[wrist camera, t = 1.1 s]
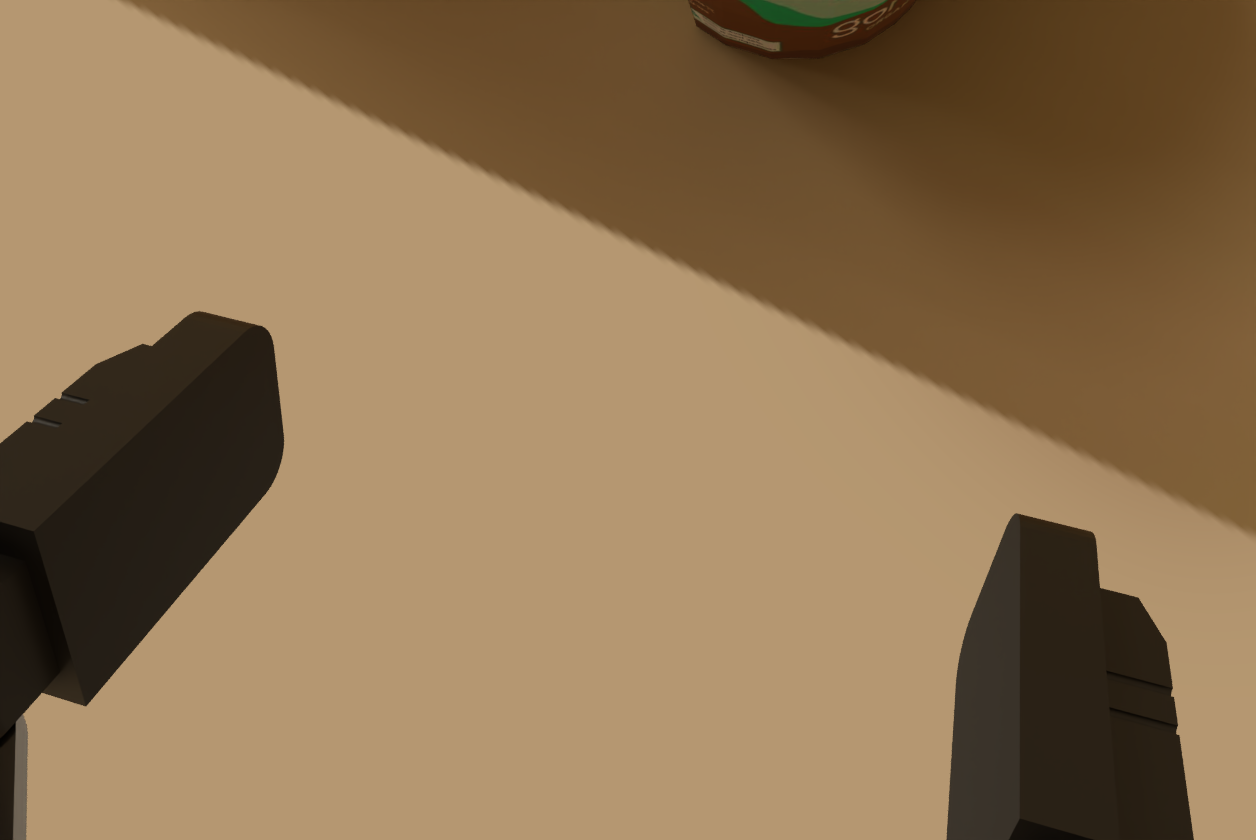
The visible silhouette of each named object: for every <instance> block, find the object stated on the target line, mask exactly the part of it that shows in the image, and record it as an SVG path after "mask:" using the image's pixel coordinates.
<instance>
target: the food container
mask: <svg viewBox="0 0 1256 840" xmlns="http://www.w3.org/2000/svg"><path fill="white" fill-rule="evenodd" d="M688 1H689V4H690V7H691V10H692V13H693V16H694V20H695V23H696V26H698V27H699V28H701V29H702V30H704V31H705V32H707V33H708V34H710V35H712V36H713V37H715V38H716V39H718V40H719V41H721V42H722V43H724V44H725V45H728V46H731V47H735V48H738V49H741V50H744V51H748V52H751V53H754V54H758V55H761V56H764V57H767V58H771V59H806V58H822V57H825V56H828V55H831V54H835V53H838V52H841V51H844V50H847V49H850V48H853V47H857V46H860V45H863V44H865V43H867V42H868V41H870V40H871V39H873V38H874V37H876V36H877V35H879V34H880V33H881V32H883V31H884V30H886V29H887V28H889V27H890V26H892V25H893V24H895V23H896V22H897V21H898V20H899V19H900V18H901V17H902V16H903V15H904V14H905V13H906V12H907V11H908V10H909V9H910V8H911V7H912V5H913V4H914V3H915V1H916V0H688Z"/></svg>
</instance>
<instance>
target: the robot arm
mask: <svg viewBox="0 0 1256 840" xmlns="http://www.w3.org/2000/svg"><path fill="white" fill-rule="evenodd" d="M283 448H284V433H283V425H282V415H281V407H280V397H279V389H278V380H277V371H276V362H275V353H274V345H273V340H272V337H271V335H270V333H269V332H268V330H266V329H265V328H264V327H262V326H258V325H255V324H251V323H246V322H242V321H238V320H234V319H230V318H226V317H222V316H218V315H214V314H210V313H206V312H200V311H199V312H194V313H192V314H190V315H188V316H187V317H185V318H184V319H183V320H182V321H181V322H179V323H178V324H177V325H176V326H175V327H174V328H172V329H171V330H170V331H169V332H168V333H167V334H165V335H164V336H163V337H162V338H161V339H160V340H159V341H157V342H156V343H155V344H154V345H153V346H149V345H145V344H141V345H139V346H137V347H134V348H132V349H130V350H128V351H125V352H123V353H121V354H118V355H116V356H114V357H112V358H109V359H107V360H105V361H103V362H100V363H98V364H96V365H95V366H93V367H92V368H91V369H90V370H88V371H87V372H86V373H85V374H84V375H83V376H81V377H80V378H79V379H78V380H76V381H75V382H74V383H73V384H72V385H70V386H69V387H68V388H67V389H66V390H64V391H63V392H62V396H61V399H56V398H55V399H54V400H52V401H51V402H50V403H49V404H47V405H46V406H45V407H44V408H43V409H41V410H40V411H39V412H38V413H37V414H35V415H34V420H33V422H32V423H31V422H26V423H24V424H23V425H22V426H21V427H20V428H18V429H17V430H16V431H15V432H14V433H13V434H11V435H10V436H9V437H8V438H6V439H5V440H4V441H3V442H2V443H0V840H26V818H27V816H26V815H27V754H28V731H27V724H26V721H25V719H24V716H23V713H24V712H25V711H26V710H27V709H28V708H29V706H30V705H31V704H32V703H33V702H34V701H35V700H36V699H37V698H38V697H39V695H40V694H41V693H45V694H48V695H51V696H55V697H57V698H61V699H64V700H67V701H70V702H73V703H77V704H80V705H83V706H87V705H88V703H89V702H90V701H91V700H92V699H93V698H94V696H95V695H96V694H97V693H98V692H99V690H100V689H101V688H102V687H103V686H104V685H105V683H106V682H107V681H108V680H109V679H110V677H111V676H112V675H113V674H114V673H115V671H116V670H117V669H118V668H119V667H120V665H121V664H122V663H123V662H124V661H125V660H126V658H127V657H128V656H129V655H130V654H131V653H132V651H133V650H134V649H135V648H136V647H137V645H138V644H139V643H140V642H141V641H142V640H143V638H144V637H145V636H146V635H147V634H148V632H149V631H150V630H151V629H152V628H153V626H154V625H155V624H156V623H157V622H158V621H159V619H160V618H161V617H162V616H163V615H164V613H165V612H166V611H167V610H168V609H169V608H170V606H171V605H172V604H173V603H174V602H175V600H176V599H177V598H178V597H179V595H181V593H182V592H183V591H184V590H185V589H186V587H187V586H188V585H189V584H190V583H191V582H192V580H193V579H194V578H195V577H196V576H197V574H198V573H199V572H200V571H201V569H202V568H203V567H204V566H205V565H206V564H207V563H208V561H209V560H210V559H211V558H212V557H213V555H214V554H215V553H216V552H217V551H218V550H219V548H220V547H221V546H222V545H223V544H224V542H225V541H226V540H227V539H228V538H229V536H230V535H231V534H232V533H233V532H234V531H235V529H236V528H237V527H238V526H239V525H240V523H241V522H242V521H243V520H244V519H245V518H246V516H247V515H248V514H249V513H250V512H251V510H252V509H253V508H254V507H255V506H256V504H257V503H258V502H259V501H260V500H261V499H262V497H263V496H264V495H265V494H266V492H267V491H268V490H269V488H270V487H271V485H272V483H273V481H274V479H275V477H276V475H277V473H278V470H279V467H280V463H281V459H282V455H283ZM1172 689H1173V687H1172V679H1171V672H1170V665H1169V657H1168V651H1167V643H1166V641H1165V640H1164V638H1163V636H1162V635H1161V633H1160V632H1159V630H1158V628H1157V627H1156V625H1155V624H1154V622H1153V620H1152V619H1151V617H1150V616H1149V614H1148V612H1147V611H1146V609H1145V608H1144V606H1143V604H1142V603H1141V601H1140V600H1139V598H1137V597H1134V596H1129V595H1126V594H1122V593H1118V592H1114V591H1110V590H1106V589H1101V588H1100V584H1099V571H1098V559H1097V546H1096V539H1095V536H1094V534H1093V533H1092V532H1090V531H1086V530H1082V529H1078V528H1074V527H1070V526H1066V525H1062V524H1058V523H1053V522H1049V521H1045V520H1041V519H1037V518H1033V517H1029V516H1025V515H1021V514H1014V515H1013V516H1012V518H1011V519H1010V521H1009V523H1008V525H1007V527H1006V530H1005V532H1004V534H1003V537H1002V540H1001V542H1000V545H999V547H998V550H997V552H996V555H995V557H994V560H993V562H992V565H991V567H990V570H989V572H988V575H987V577H986V580H985V583H984V585H983V587H982V590H981V593H980V595H979V598H978V600H977V603H976V605H975V608H974V610H973V613H972V615H971V618H970V621H969V623H968V627H967V629H966V633H965V636H964V640H963V644H962V648H961V653H960V658H959V663H958V670H957V678H956V693H955V710H954V726H953V742H952V759H951V775H950V791H949V810H948V825H947V840H1194V838H1193V831H1192V824H1191V817H1190V809H1189V802H1188V796H1187V788H1186V780H1185V773H1184V766H1183V758H1182V751H1181V744H1180V737H1179V735H1177V734H1176V729H1177V726H1178V723H1177V716H1176V708H1175V702H1174V697H1171V691H1172Z"/></svg>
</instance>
